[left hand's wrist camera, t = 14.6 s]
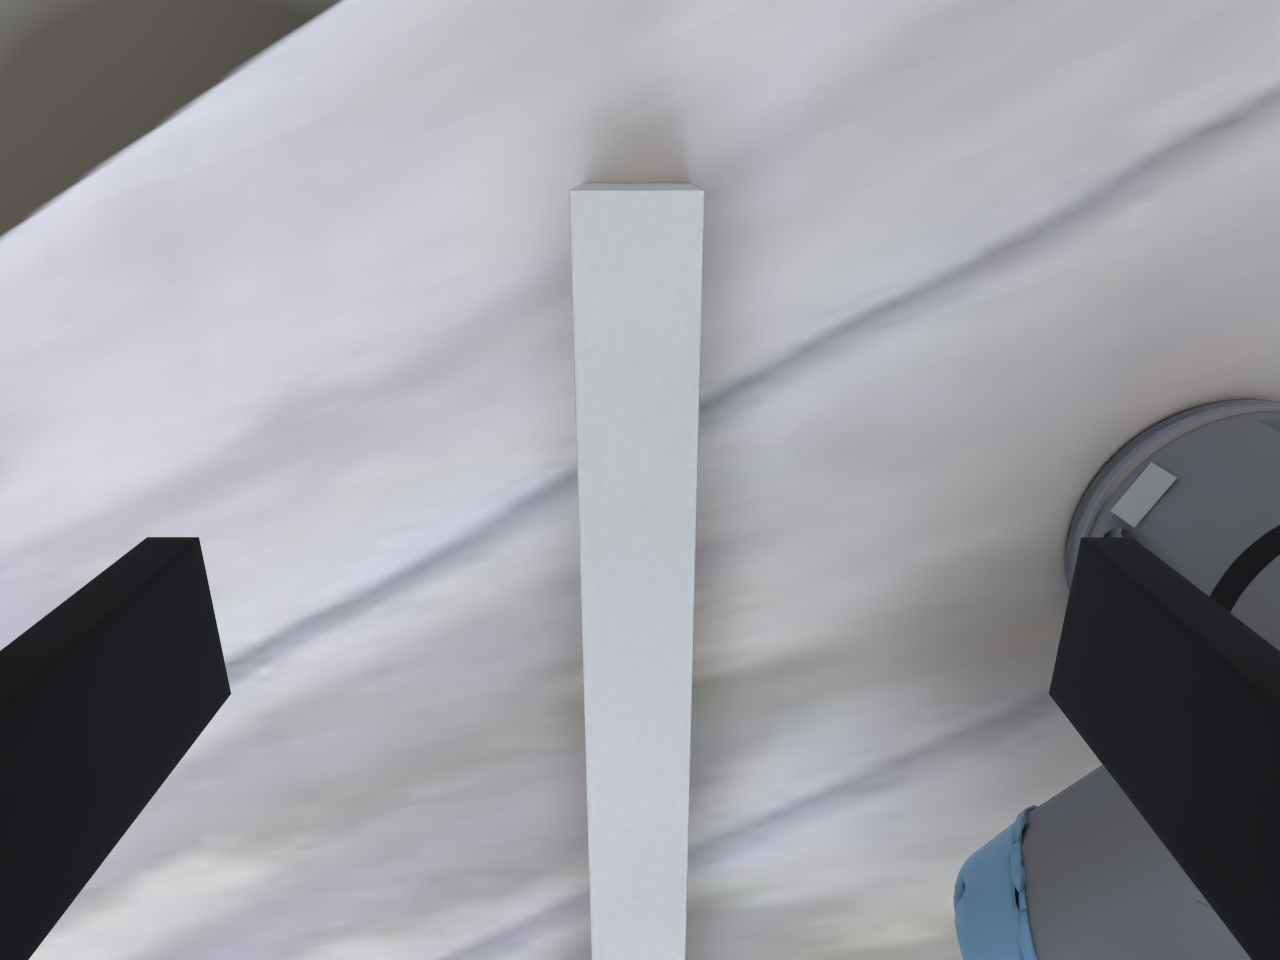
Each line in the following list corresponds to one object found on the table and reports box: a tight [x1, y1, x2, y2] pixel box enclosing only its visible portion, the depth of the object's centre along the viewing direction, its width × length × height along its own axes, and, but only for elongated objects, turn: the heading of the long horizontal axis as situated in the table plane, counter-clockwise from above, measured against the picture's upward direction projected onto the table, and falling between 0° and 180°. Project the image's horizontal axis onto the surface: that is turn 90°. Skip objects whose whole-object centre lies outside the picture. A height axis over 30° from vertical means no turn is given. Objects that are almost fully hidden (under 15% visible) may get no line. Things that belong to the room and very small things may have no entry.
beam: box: [569, 183, 705, 960], centre depth 45 cm, size 55×5×8 cm, turn 0°
